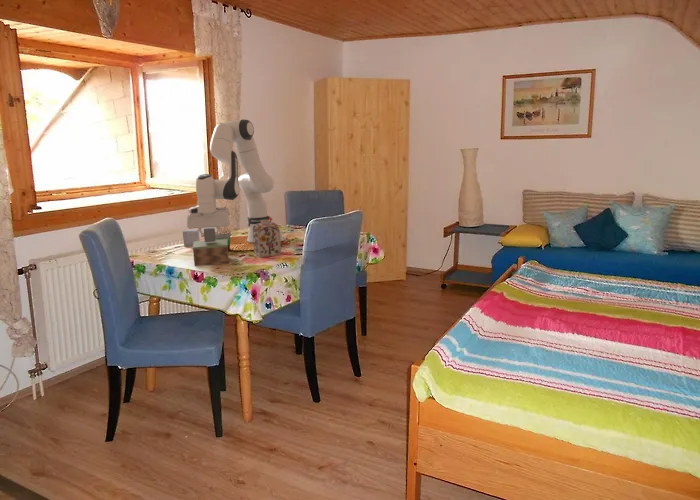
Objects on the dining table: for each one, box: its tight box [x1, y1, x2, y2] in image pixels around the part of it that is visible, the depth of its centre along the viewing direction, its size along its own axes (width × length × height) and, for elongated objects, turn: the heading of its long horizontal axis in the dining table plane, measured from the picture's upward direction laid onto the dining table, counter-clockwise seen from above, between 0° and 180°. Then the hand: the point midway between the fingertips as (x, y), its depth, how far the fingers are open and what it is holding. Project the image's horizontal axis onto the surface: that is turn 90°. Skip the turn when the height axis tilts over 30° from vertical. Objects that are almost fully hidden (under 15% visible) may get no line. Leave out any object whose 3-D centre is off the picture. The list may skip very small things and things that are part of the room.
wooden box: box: [192, 247, 229, 267], centre depth 269 cm, size 16×12×8 cm
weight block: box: [203, 227, 216, 242], centre depth 267 cm, size 5×5×6 cm
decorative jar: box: [252, 220, 282, 258], centre depth 280 cm, size 12×12×18 cm
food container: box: [215, 231, 232, 252], centre depth 291 cm, size 12×6×10 cm, turn 117°
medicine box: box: [182, 229, 201, 247], centre depth 308 cm, size 8×4×9 cm, turn 84°
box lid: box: [191, 239, 228, 250], centre depth 268 cm, size 16×12×1 cm
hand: (209, 236), depth 267 cm, fingers closed on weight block, 5 cm apart
